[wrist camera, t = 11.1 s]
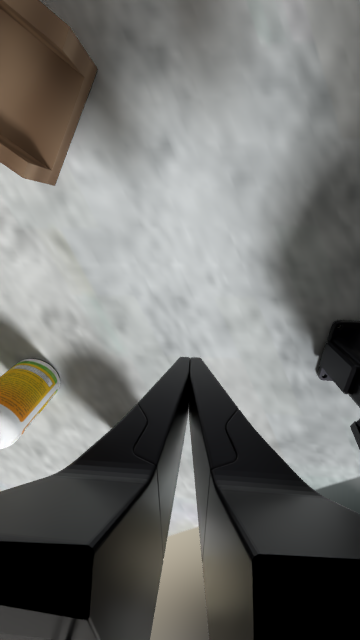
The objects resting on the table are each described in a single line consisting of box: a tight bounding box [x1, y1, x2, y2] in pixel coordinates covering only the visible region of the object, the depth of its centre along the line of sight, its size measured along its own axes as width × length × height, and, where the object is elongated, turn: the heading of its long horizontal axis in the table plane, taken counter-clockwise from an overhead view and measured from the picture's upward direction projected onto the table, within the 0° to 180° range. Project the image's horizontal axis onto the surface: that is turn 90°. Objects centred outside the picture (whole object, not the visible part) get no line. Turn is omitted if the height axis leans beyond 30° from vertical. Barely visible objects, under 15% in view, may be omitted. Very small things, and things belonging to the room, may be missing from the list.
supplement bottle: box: [0, 359, 60, 449], centre depth 22 cm, size 5×5×10 cm
